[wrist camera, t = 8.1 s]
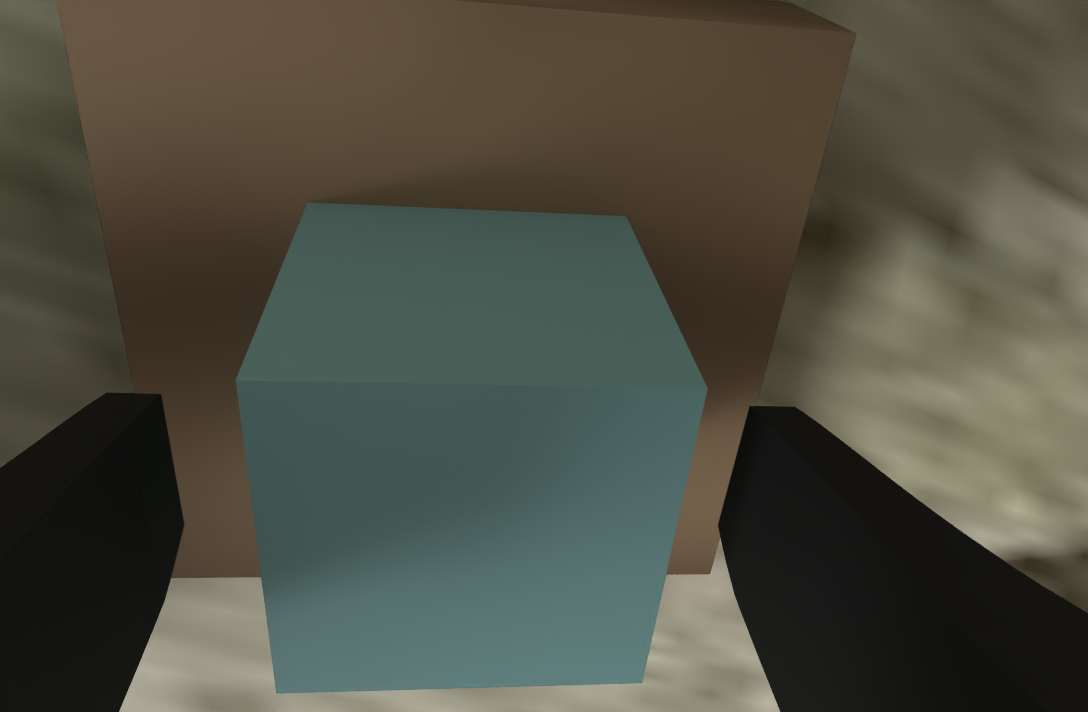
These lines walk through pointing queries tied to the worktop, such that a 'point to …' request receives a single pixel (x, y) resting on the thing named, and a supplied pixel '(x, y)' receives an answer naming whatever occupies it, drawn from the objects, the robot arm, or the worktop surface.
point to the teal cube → (464, 449)
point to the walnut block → (442, 179)
